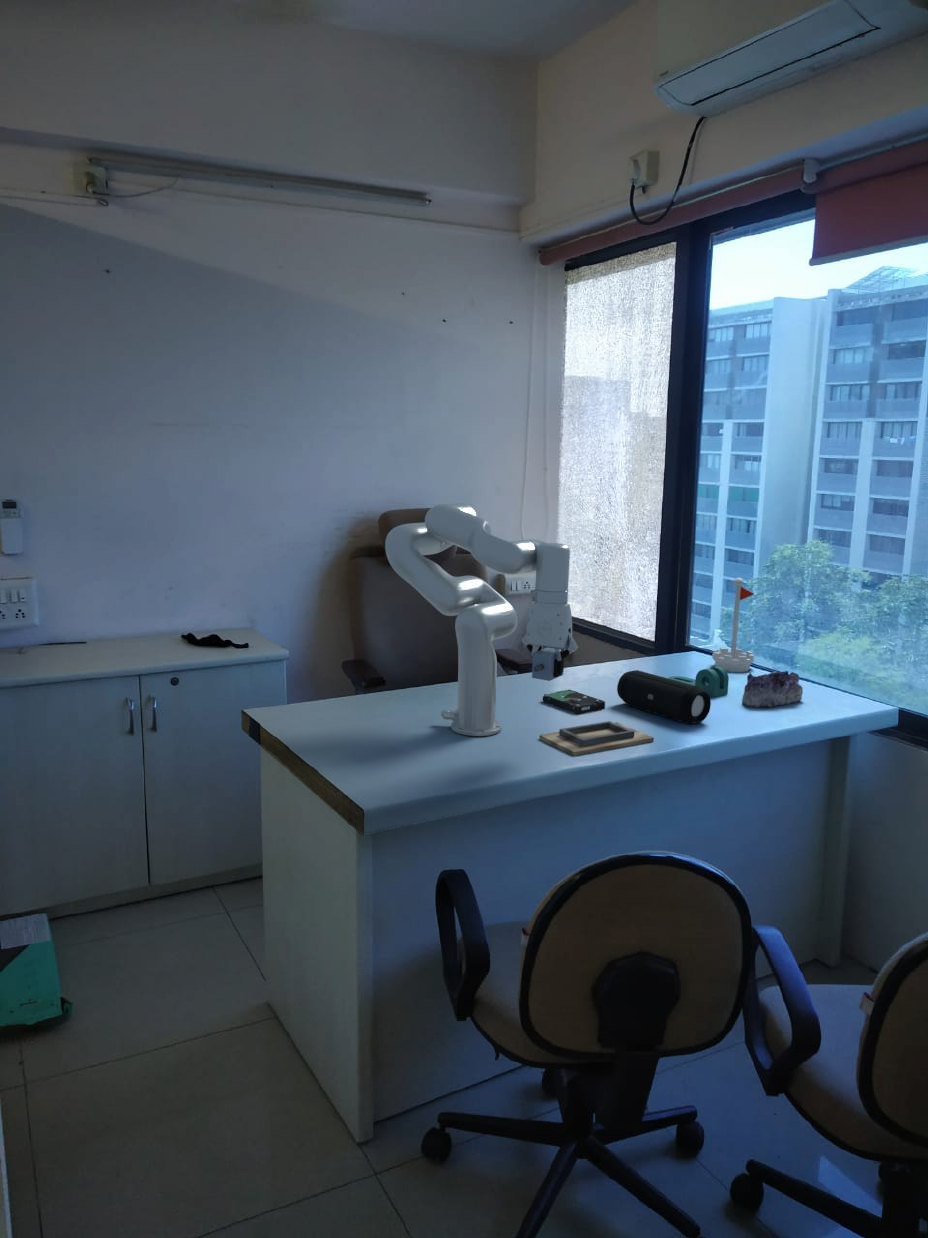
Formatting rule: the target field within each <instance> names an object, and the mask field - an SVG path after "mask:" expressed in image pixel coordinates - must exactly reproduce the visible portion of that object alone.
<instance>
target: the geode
mask: <svg viewBox="0 0 928 1238" xmlns="http://www.w3.org/2000/svg"><path fill="white" fill-rule="evenodd" d="M788 671H789V670H786V671H777V670H776V671H773V672H770V673H769V674H766V673H765V674H761V675H756V676H755V675H753V674H752V673H749V674H748V675H747V676H746V677H747V679H746V681H747V683H746V684H745V686H744V691H743V695H742V699H741V702H742V705H743V706H744V707H747V708H749V709H751V708H753V709H769V708H772V707H777V706H783V705H789V704H793V703H796V702H799V701H802V699H803V697H802V696H803V693H804V692H803V686H802V685H800V683H799V681H800V675H799V673H795V672H793V671H792V672H790V673H789V672H788Z"/></svg>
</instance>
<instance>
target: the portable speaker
mask: <svg viewBox="0 0 928 1238" xmlns="http://www.w3.org/2000/svg"><path fill="white" fill-rule="evenodd" d="M668 678H669V677H664V676H660V675H657V674H653V673H649V672H645V671H642V670H637V669H636V670H635V669H634V670H630V671H626V672H624V673H623V674H622V675H621V676H620V678H619V680H618V682H617V687H616V692H617V695H618V697H619V699H621V700H622V701H623V702H624V703H625V704H626V705H628V706H631V707H633V708H637V709H641V710H643V711H647V712H650V713H653V714H656V715H659V716H663V717H666V718H669V719H671V720H675V721H679V722H682V723H686V724H689V725H690V724H697V723H701V722H704V720H705V719H707V717H708V716H709V713H710V711H711V703H712V702H711V697H709V695H708V693H706V692H705V691H704V690H703V689H701V688H700V687H697V686H694V685H691V684H687V683H683V682H679V681H676V680H672V679H668Z"/></svg>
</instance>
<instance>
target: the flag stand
mask: <svg viewBox="0 0 928 1238" xmlns="http://www.w3.org/2000/svg"><path fill="white" fill-rule="evenodd" d="M733 583H734V585H735V596H734V609H733V619H732V620H733V623H732V633H731V644H730V645H731V646H730V651H729V648H728V647H723V648H722V647H720V648H719V649H716V648H715V649H713V650H712V657H711V658H712V660H714V667H716V666H720V667H722V668H724V669H725V670H726V672H727V673H728V672H729V673H746V672H745V671H747V672H749V671H750V670H749V669H751V664H752V663H754V661H755V660H754V659H755V654H754V652H753V651H750V650H746V652H745V653H744V652H743V649H742V648H737V641H738V631H739V630H738V629H739V616H740V615H739V613H740V604H741V601H742V600H744V599H746V598H750V597H751V596H753V595H754V596H755V593H753V592H752V591H750V590H749V589H746V588H745V587H742V586H743V585H744V580H743V578H741V577H736V578H735V579H734V581H733ZM748 670H749V671H748Z"/></svg>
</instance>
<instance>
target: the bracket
mask: <svg viewBox="0 0 928 1238" xmlns="http://www.w3.org/2000/svg"><path fill="white" fill-rule="evenodd" d="M667 678H668V679H672V680H676V681H679V682H683V683H687V684H691V685H694V686H697V687H700V688H701V689H703V690H704V691H705V692H706V693H708V695H709V697H710V698H713V699H716V698H719V697H722V696H726V695H728V692H729V680H730V679H729V673H728V671H726V670H725V669H724V668H722V667H720V666H716V667H715V666H712V667H709V668H705V669H704V668H703V669H700V670H699V671H698V672H697V673H696V675H695V678H692V677H691V678H690V677H688V676H686V677H685V676H678V675H677V676H676V675H674V676H669V677H667Z"/></svg>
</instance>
